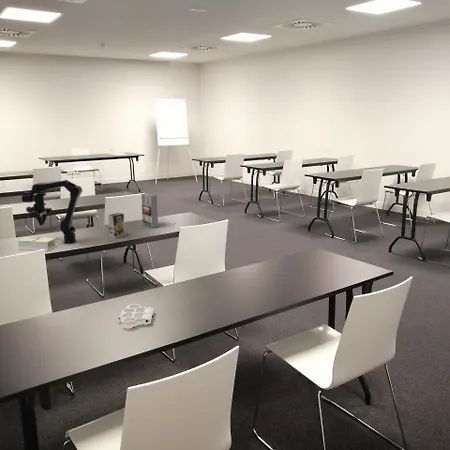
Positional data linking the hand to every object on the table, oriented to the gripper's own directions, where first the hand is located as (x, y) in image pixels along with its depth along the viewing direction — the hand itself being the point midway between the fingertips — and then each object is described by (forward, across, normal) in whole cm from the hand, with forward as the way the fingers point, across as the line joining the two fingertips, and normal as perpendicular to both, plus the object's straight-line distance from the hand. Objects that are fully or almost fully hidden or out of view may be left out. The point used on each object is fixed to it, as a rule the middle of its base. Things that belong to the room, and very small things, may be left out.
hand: (41, 225), depth 296 cm
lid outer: (+7, +13, -1) cm, 15 cm away
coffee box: (+12, -23, +43) cm, 50 cm away
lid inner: (+7, +13, +9) cm, 17 cm away
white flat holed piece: (+13, +101, +105) cm, 146 cm away
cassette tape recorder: (+12, -55, +56) cm, 79 cm away
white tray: (+12, +13, +4) cm, 18 cm away
